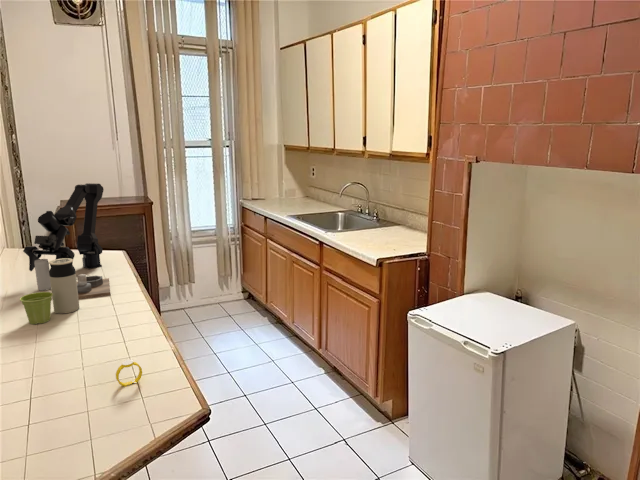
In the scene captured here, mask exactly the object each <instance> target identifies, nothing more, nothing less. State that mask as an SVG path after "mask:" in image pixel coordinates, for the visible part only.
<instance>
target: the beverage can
mask: <svg viewBox="0 0 640 480" xmlns="http://www.w3.org/2000/svg"><path fill="white" fill-rule="evenodd" d="M49 262H50V261H49V260H48V258H39V259H38V260H35V262H34V264H35V268H34V270H35V271H34V272H35V277H36V285H37V289H38V291H40V292H46V291H49V290H51V283H50V275H49V271H50V264H49Z"/></svg>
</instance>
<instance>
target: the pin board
mask: <svg viewBox="0 0 640 480" xmlns="http://www.w3.org/2000/svg"><path fill="white" fill-rule="evenodd" d="M76 279H77V290H78V299H79V300H83V299H88V298H89V299H90V298H98V297H105V296H111V294H112V293H111V287H110V278H109V277H108V278H107V277H105V278H103V275H88V276H87V274H86V273H80V274H76Z"/></svg>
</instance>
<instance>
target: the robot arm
mask: <svg viewBox="0 0 640 480" xmlns="http://www.w3.org/2000/svg"><path fill="white" fill-rule="evenodd" d="M103 193H104V187H103V186H102V184H101V183H92V182H91V183H89V182H88V183H84V184H77V185H75V186H74V190H73V191H72V193H71V195H70V197H69V198H68V200H67V202H66V203H65V205H64V206H62V207H61V208H60V209H58V210H57V211H56V212H55V213H54V212H53V211H52V210H46V211H45V213H41V215H39V216H38V219H37V222H38V224H40V226H42V228H43V229H44V230H45V231H46V232H48V233H49V234H48V235H35V237H34V244H35V245H39V248H41V249H39V248H38V247H36V246H35V245H34V246H33V245H27V246H25V247H24V249H23V250H22V251H23V253H24V254H26V256H28V261H29V263H28V264H29V265H28V270H29V271H30V272H32V271H34V270H35V264H34V262H35V260H38V259H41V257H42V255H44V256H45V255H46V256H55V259H62V258H70V259H73V260H74V258H75V257H76V256H75V252H74V251H73V250H72V249H71V248H70V247H68V246H64V245H65V243H64V240H65V238H66V236H67V235H69V236H70V234H71V233H70V230H69V228H67V227H70V226H71V227H72V226H73V225H75V222H76V220H77V211H78V209H79V208H80V206H81V204H82V203H83V201H84V200H85V207H84V209H85V210H84V220H83V229H82V233H81V234H78V235H77V241H76V248H77V250H78V254H79V255H82V258H81V259H82V267H84V268H85V269H87V270H88V269H93V268H94V269H95V268H100V267H102V266H103V265H102V264H101V258H100V257H101V256H100V255H102V254H103V251H104V250H103V247H102V246H101V245H100V244H99V238H98V237H97V235H96V223H97V213H98V206H99V205H98V204H99V202H100V200H101V199H102V198H103Z"/></svg>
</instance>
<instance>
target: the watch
mask: <svg viewBox="0 0 640 480" xmlns="http://www.w3.org/2000/svg"><path fill="white" fill-rule="evenodd" d="M132 366H137V367H138V376H136V378H134V380H135V381H134V382H137V383H138V382H139V381H140V380H141V379H142V377H143V376H142V375H143V370H142V366H140V364H139V363H138V362H135V361H134V360H133V359H126V360H124V361H122V362H121V365H119V366H118V368H117V370H116V372H115V379H116V381H117V383H119V385H120V386H122V387H127V385H128V386H131V385H133V384H132V383H134V382H132V381H133V380H130V381H128V382H127V381H126V382H122V381H120V379H119V377H120V374H121V372H122V370H123V369H125V368H131V367H132ZM130 384H131V385H130Z"/></svg>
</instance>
